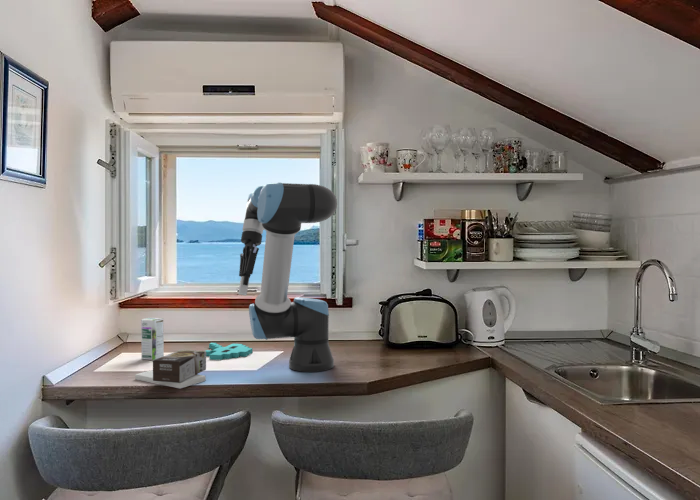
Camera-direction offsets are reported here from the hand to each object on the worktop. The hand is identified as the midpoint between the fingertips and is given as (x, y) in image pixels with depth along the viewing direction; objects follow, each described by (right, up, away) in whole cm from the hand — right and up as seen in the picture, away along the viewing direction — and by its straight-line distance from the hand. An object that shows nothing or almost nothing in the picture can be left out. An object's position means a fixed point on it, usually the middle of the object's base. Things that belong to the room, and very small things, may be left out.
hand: (242, 294), depth 194 cm
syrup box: (-33, -24, +2) cm, 41 cm away
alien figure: (-9, -24, +10) cm, 27 cm away
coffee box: (-12, -19, -20) cm, 30 cm away
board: (-17, -24, -27) cm, 40 cm away
